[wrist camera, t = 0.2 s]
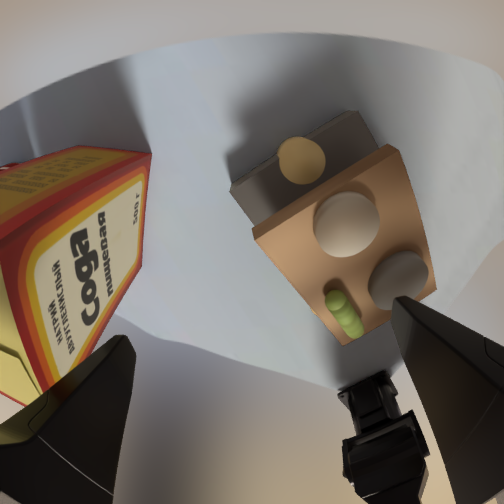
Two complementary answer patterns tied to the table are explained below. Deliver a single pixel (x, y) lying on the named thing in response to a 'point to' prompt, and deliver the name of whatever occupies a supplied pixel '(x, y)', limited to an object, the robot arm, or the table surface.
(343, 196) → the level plate
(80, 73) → the table surface
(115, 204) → the baking soda box
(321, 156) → the instrument base
